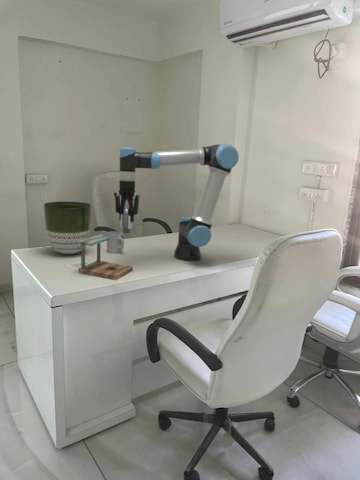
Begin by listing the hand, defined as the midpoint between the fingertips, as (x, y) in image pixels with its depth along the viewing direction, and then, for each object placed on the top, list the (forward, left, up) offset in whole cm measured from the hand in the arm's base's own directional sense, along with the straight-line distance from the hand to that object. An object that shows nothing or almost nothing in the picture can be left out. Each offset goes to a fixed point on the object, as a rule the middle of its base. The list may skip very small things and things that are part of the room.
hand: (126, 227), depth 183 cm
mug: (+17, -20, -20) cm, 33 cm away
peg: (0, 0, -2) cm, 2 cm away
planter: (+38, -4, -20) cm, 43 cm away
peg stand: (+3, +13, -20) cm, 24 cm away
